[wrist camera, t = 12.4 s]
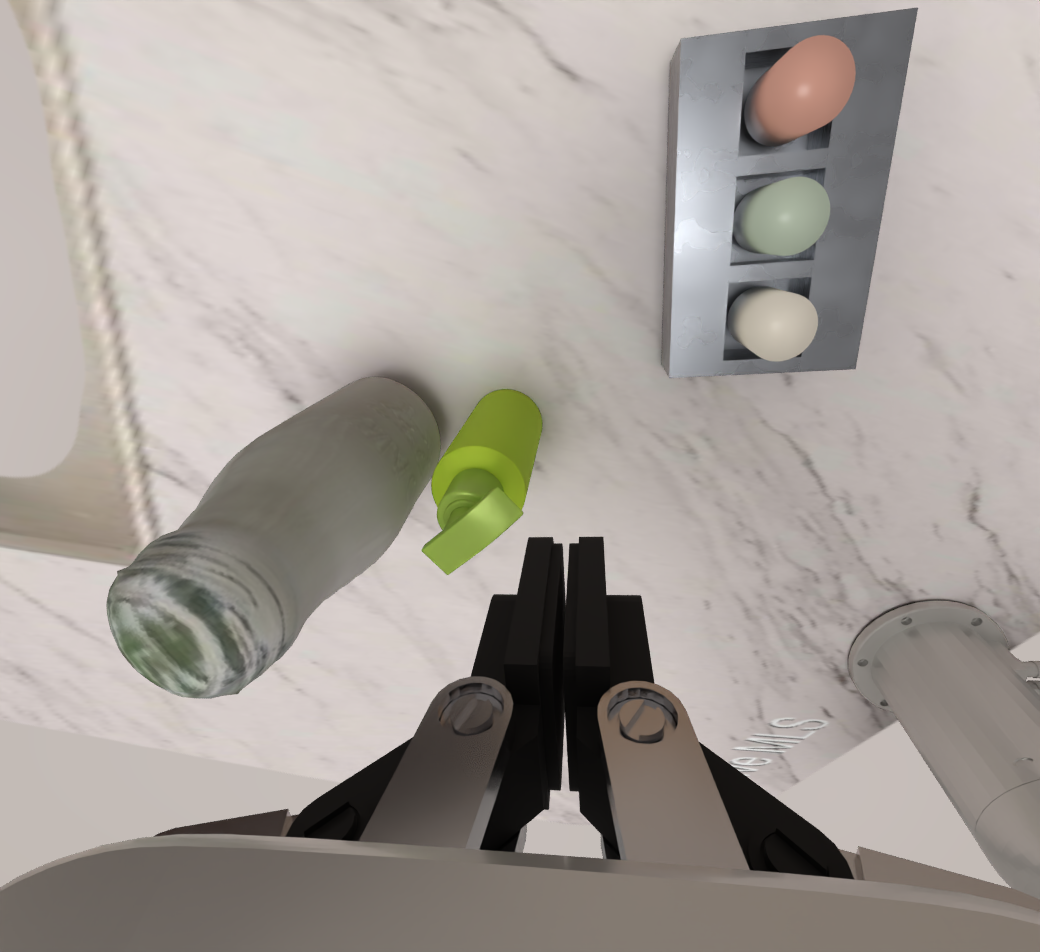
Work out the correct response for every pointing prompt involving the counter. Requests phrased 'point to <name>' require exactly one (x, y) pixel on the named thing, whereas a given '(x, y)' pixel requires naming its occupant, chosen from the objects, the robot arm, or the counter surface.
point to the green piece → (782, 217)
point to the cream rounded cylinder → (772, 322)
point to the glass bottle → (274, 539)
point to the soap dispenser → (484, 477)
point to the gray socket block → (749, 165)
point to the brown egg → (800, 91)
